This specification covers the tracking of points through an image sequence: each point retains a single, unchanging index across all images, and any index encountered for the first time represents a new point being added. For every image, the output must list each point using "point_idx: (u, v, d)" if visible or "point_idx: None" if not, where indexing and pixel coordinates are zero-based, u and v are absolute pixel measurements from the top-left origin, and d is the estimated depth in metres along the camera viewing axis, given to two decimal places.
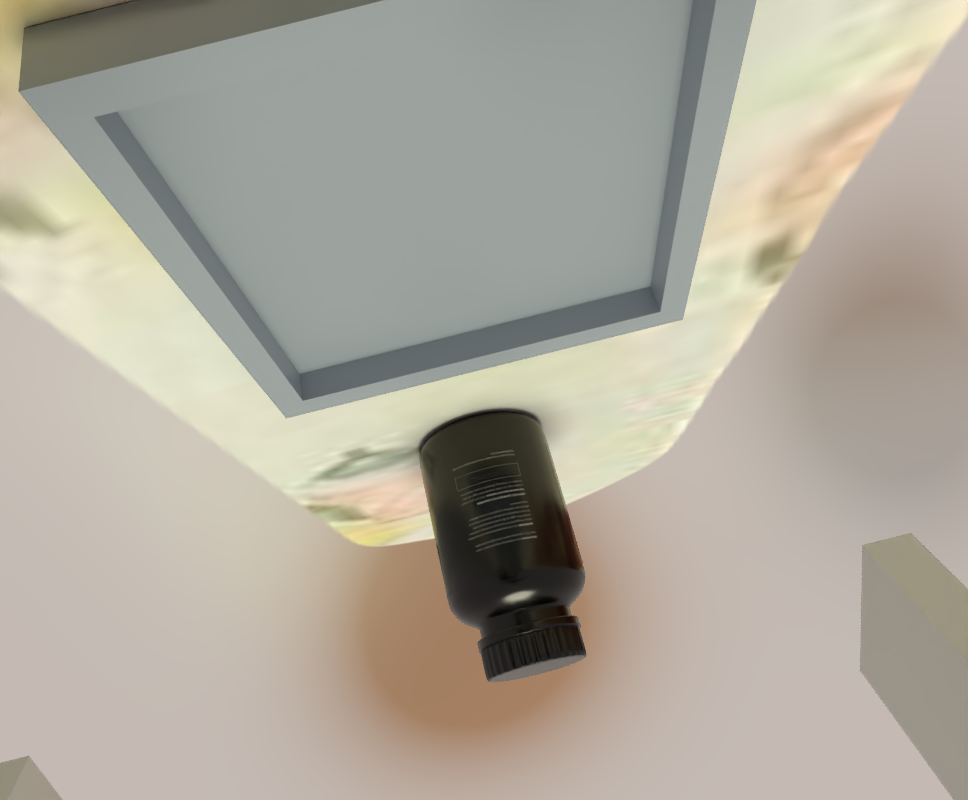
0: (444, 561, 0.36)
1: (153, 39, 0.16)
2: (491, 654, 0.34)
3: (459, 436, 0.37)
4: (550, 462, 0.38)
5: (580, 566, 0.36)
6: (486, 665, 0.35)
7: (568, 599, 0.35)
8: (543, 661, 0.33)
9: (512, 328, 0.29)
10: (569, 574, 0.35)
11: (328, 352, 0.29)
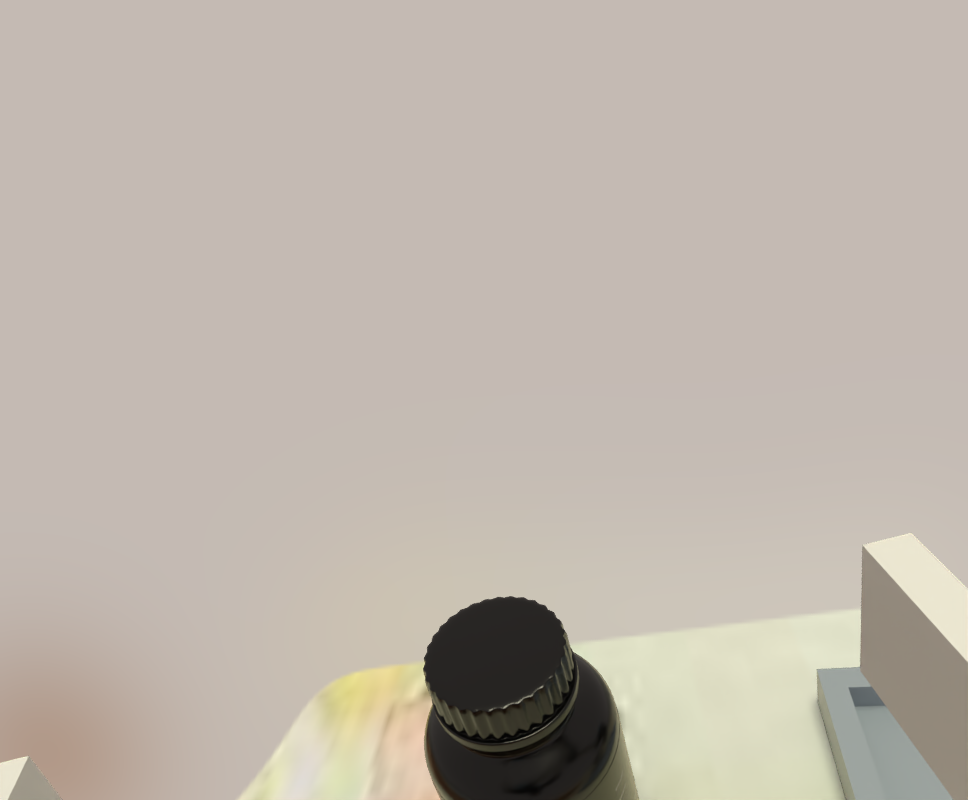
0: None
1: None
2: None
3: None
4: None
5: None
6: None
7: (533, 760, 0.23)
8: (559, 654, 0.24)
9: None
10: (574, 787, 0.23)
11: (884, 736, 0.31)
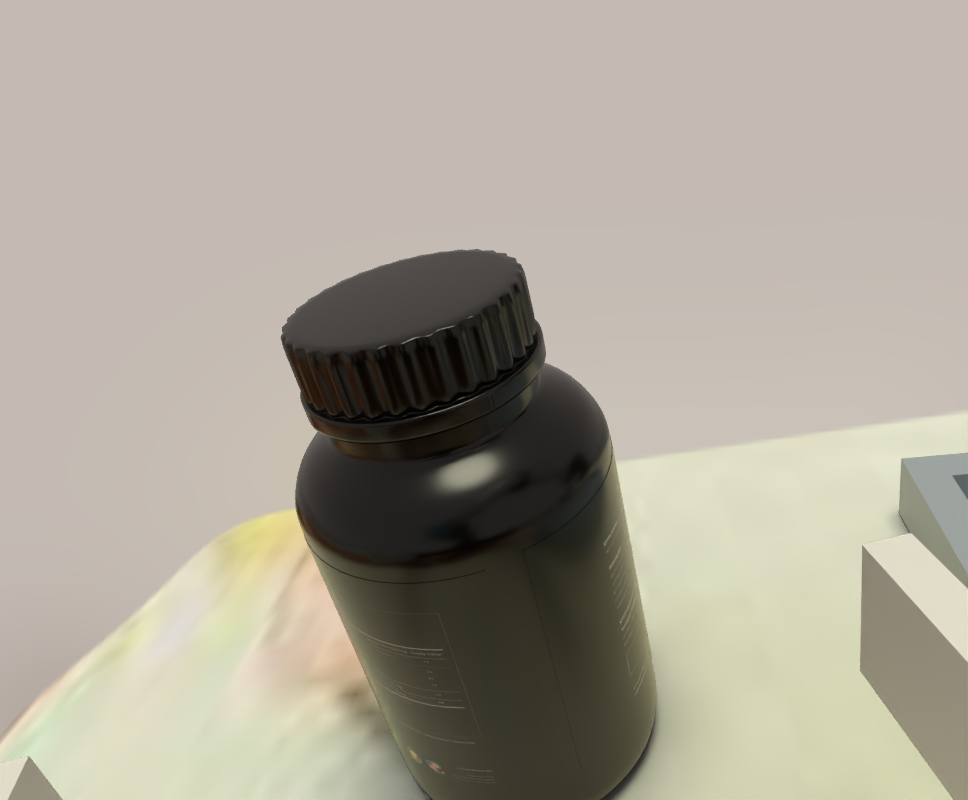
0: None
1: None
2: None
3: None
4: (542, 754, 0.16)
5: (480, 556, 0.13)
6: None
7: (461, 464, 0.14)
8: (509, 283, 0.14)
9: None
10: (531, 509, 0.13)
11: None
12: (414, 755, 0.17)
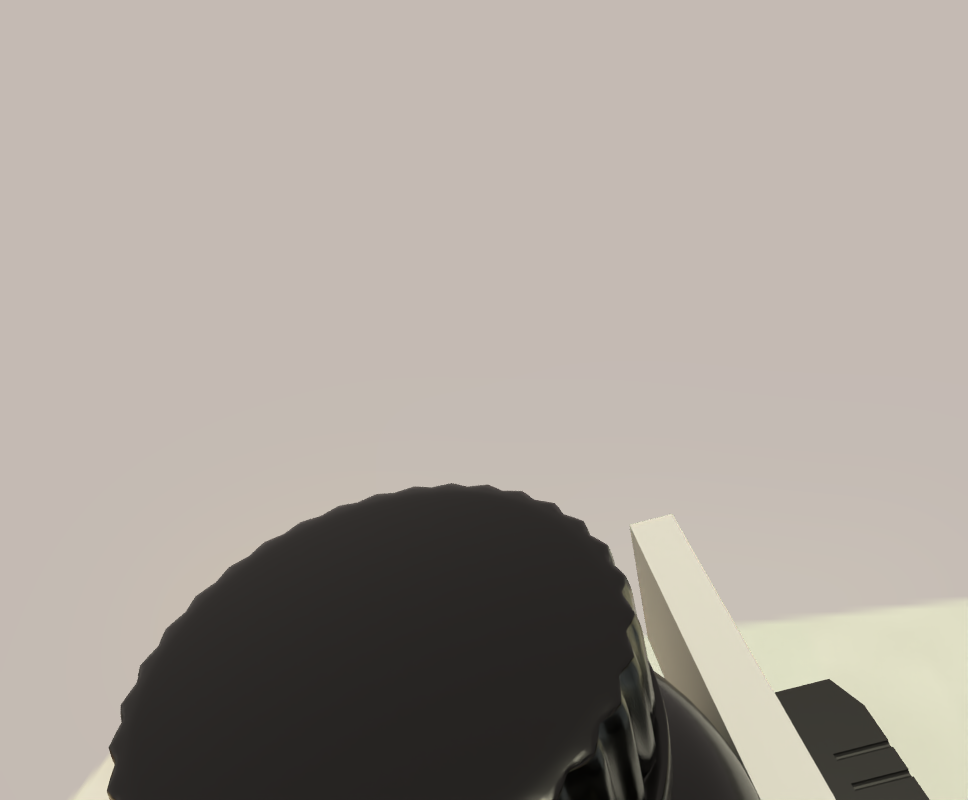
0: None
1: None
2: None
3: None
4: None
5: None
6: None
7: None
8: (613, 661, 0.06)
9: None
10: None
11: None
12: None
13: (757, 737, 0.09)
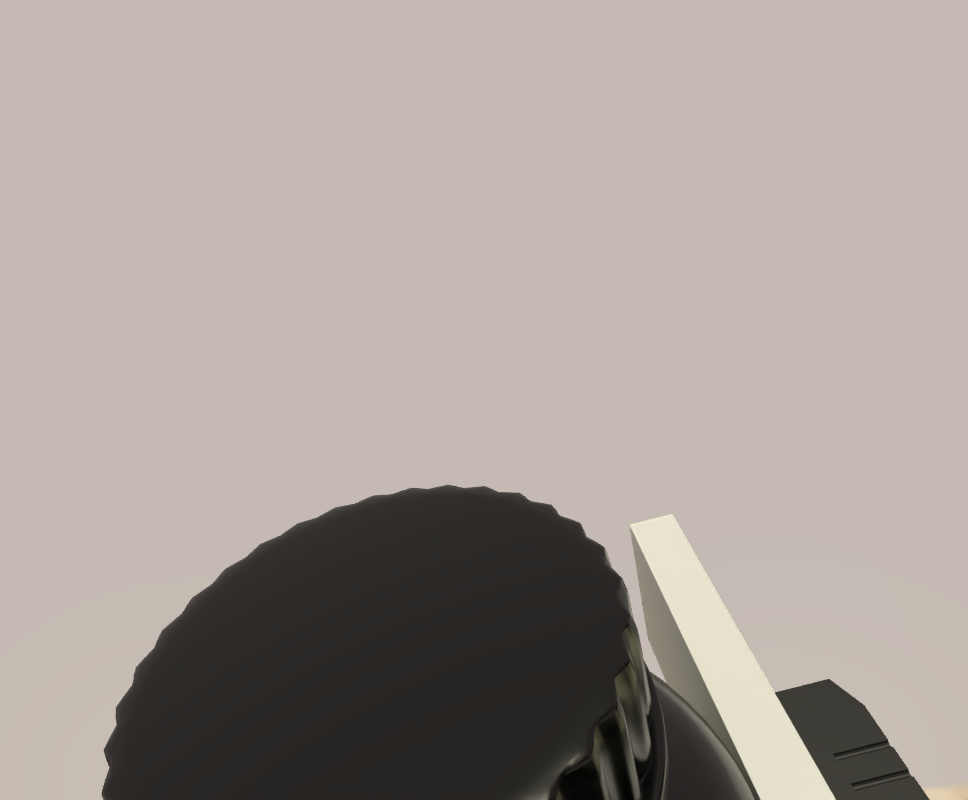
0: None
1: None
2: None
3: None
4: None
5: None
6: None
7: None
8: (608, 663, 0.06)
9: None
10: None
11: None
12: None
13: (757, 737, 0.09)
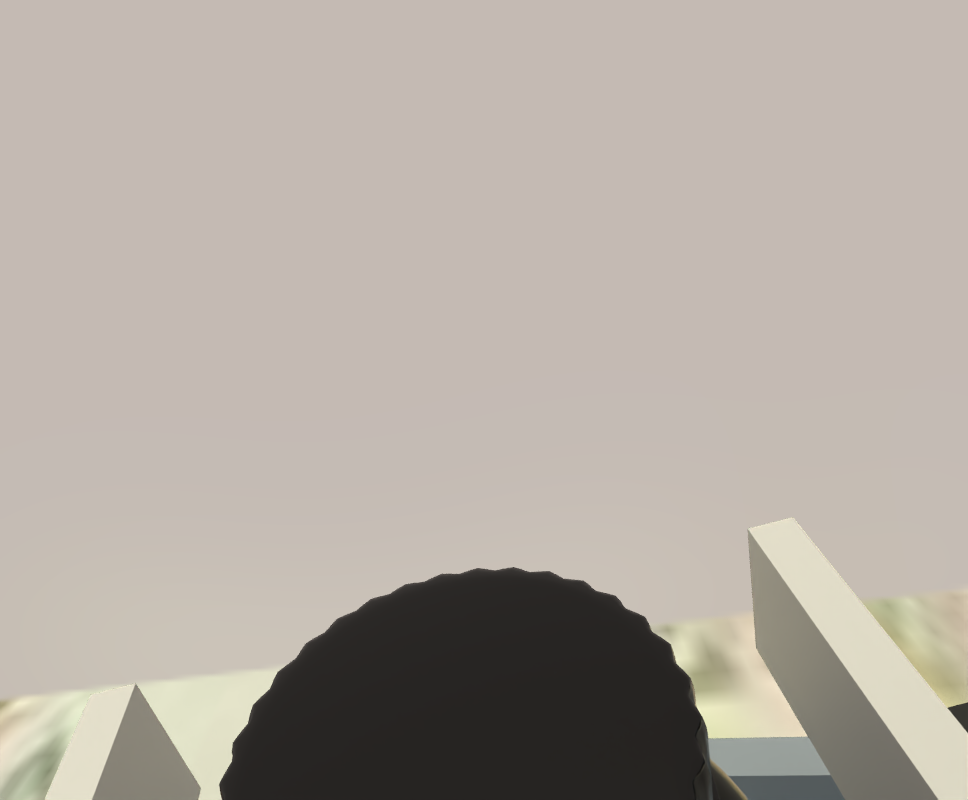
0: None
1: None
2: None
3: None
4: None
5: None
6: None
7: None
8: (686, 766, 0.07)
9: None
10: None
11: None
12: None
13: (941, 762, 0.08)
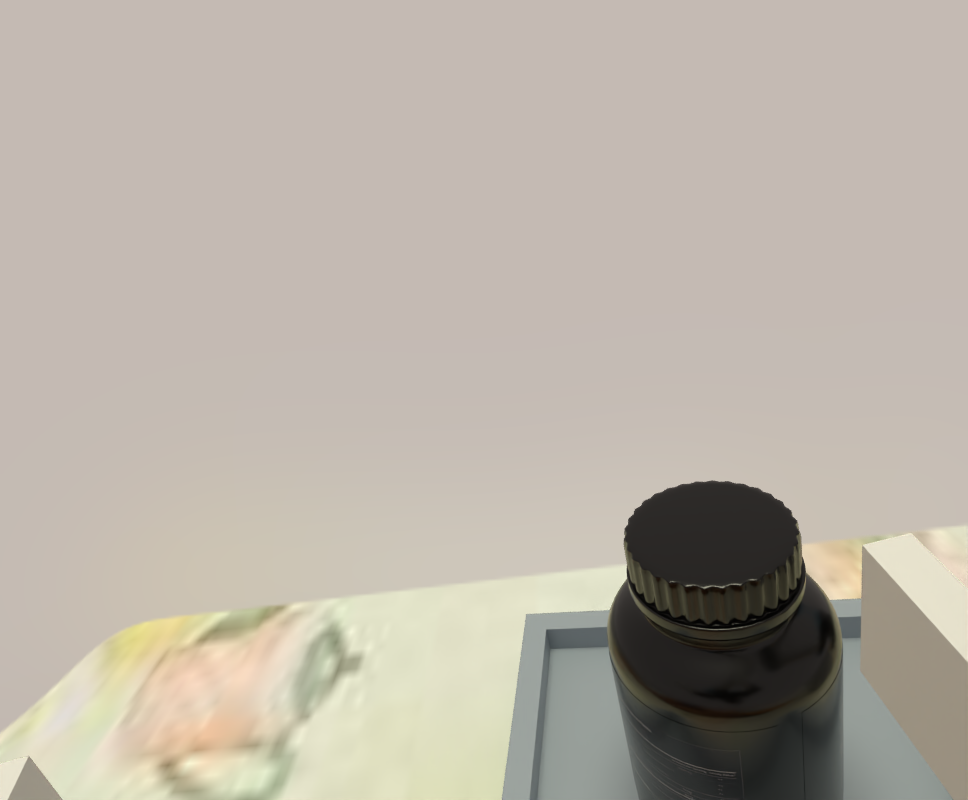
0: None
1: None
2: None
3: None
4: None
5: (776, 717, 0.20)
6: None
7: (761, 653, 0.20)
8: (793, 532, 0.20)
9: None
10: (809, 685, 0.20)
11: (570, 673, 0.33)
12: None
13: None
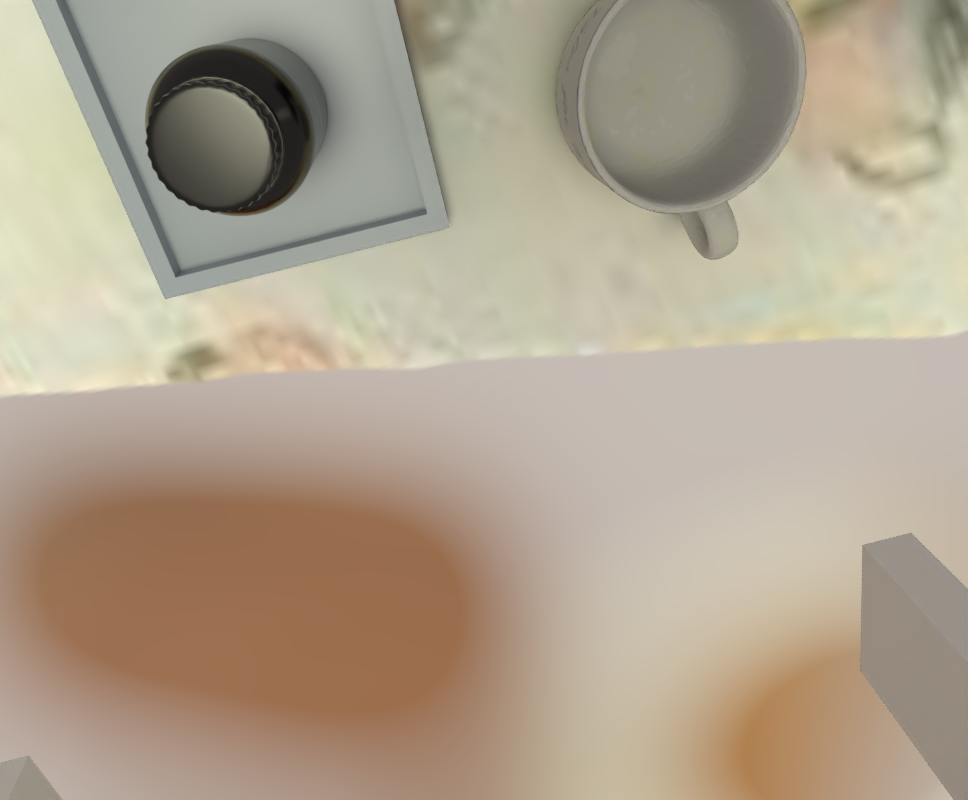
0: (249, 46, 0.32)
1: None
2: (233, 87, 0.28)
3: (316, 80, 0.38)
4: None
5: (282, 203, 0.33)
6: (215, 81, 0.28)
7: None
8: (271, 147, 0.29)
9: (136, 171, 0.39)
10: (297, 186, 0.33)
11: (95, 18, 0.36)
12: None
13: None
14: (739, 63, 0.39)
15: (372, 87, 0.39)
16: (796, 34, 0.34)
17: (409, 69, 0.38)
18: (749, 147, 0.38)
